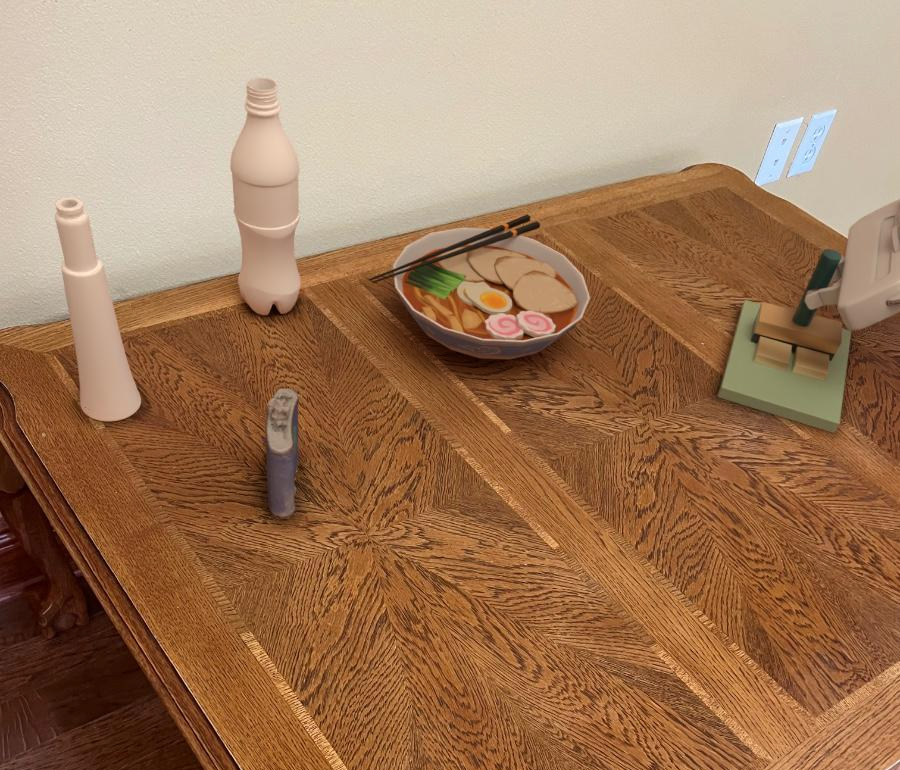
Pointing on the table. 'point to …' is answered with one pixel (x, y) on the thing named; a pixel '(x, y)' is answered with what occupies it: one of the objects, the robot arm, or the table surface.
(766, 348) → the cracker
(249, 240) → the water bottle
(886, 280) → the robot arm
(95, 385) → the cosmetic bottle
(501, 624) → the table surface
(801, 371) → the cracker
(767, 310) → the brush
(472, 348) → the ramen bowl
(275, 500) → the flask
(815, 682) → the table surface
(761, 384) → the green rectangular board
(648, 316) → the table surface
